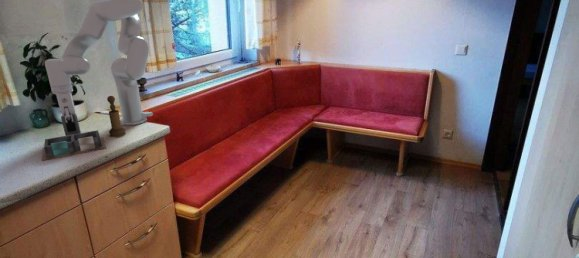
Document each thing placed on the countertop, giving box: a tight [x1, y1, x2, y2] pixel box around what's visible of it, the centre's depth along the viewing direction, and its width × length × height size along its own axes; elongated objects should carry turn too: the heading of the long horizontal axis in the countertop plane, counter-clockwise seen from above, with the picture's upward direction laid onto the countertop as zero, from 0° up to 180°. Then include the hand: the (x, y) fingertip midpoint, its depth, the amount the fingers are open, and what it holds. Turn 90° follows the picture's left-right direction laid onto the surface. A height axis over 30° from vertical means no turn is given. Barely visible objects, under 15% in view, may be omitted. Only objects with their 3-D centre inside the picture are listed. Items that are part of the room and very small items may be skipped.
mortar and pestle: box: [106, 95, 127, 138], centre depth 153 cm, size 7×6×18 cm
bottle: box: [60, 107, 82, 136], centre depth 150 cm, size 6×6×15 cm
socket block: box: [41, 130, 107, 162], centre depth 140 cm, size 22×14×6 cm, turn 122°
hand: (71, 128), depth 151 cm, fingers closed on bottle, 5 cm apart
